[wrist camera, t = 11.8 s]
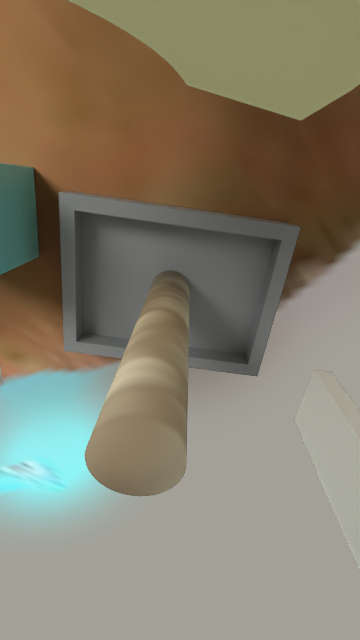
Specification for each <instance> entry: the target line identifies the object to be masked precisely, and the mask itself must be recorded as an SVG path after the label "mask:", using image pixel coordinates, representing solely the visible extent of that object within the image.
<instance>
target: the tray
mask: <svg viewBox="0 0 360 640" xmlns="http://www.w3.org/2000/svg"><path fill="white" fill-rule="evenodd" d="M59 217H60V246H61V274H62V303H63V332H64V351H69V352H76V353H84V354H92V355H99V356H107V357H114V358H123V355H124V353H125V350H126V348H127V345H128V343H129V340H130V338H131V335H132V333H133V330H134V328H135V325H136V323H137V320H138V318H139V315H140V313H141V310H142V308H143V305H144V303H145V300H146V298H147V295H148V293H149V290H150V288H151V285H152V283H153V281H154V279H155V277H156V276H157V275H158V274H160V273H161V272H164V271H168V270H173V271H177V272H179V273H181V274H183V275H184V276H185V277H186V279H187V280H188V282H189V286H190V304H189V354H188V367H190V368H197V369H205V370H213V371H220V372H228V373H235V374H243V375H251V376H258V372H259V369H260V365H261V361H262V358H263V355H264V351H265V348H266V345H267V341H268V338H269V334H270V331H271V328H272V324H273V320H274V317H275V314H276V310H277V307H278V304H279V300H280V297H281V293H282V290H283V286H284V283H285V280H286V276H287V273H288V269H289V266H290V262H291V259H292V256H293V252H294V249H295V245H296V242H297V238H298V235H299V232H300V228H301V227H299V226H297V225H294V224H291V223H288V222H281V221H274V220H267V219H260V218H253V217H247V216H240V215H233V214H226V213H219V212H212V211H205V210H198V209H191V208H184V207H177V206H171V205H164V204H157V203H150V202H143V201H136V200H129V199H122V198H115V197H108V196H102V195H95V194H88V193H81V192H74V191H71V192H59Z"/></svg>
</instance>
